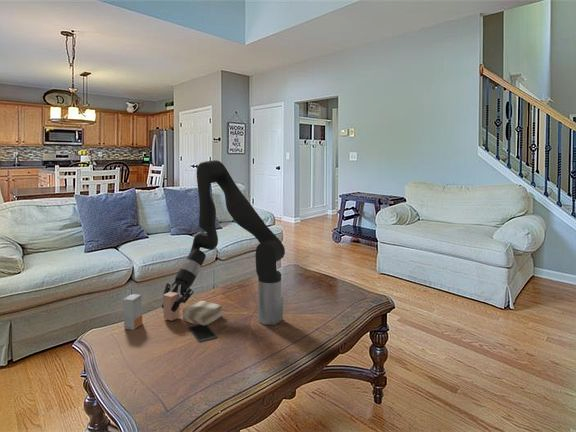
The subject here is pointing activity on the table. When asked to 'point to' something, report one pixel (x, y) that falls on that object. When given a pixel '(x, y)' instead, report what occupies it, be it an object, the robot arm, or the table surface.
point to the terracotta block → (170, 306)
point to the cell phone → (202, 332)
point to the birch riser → (202, 313)
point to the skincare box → (132, 311)
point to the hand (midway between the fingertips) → (168, 309)
